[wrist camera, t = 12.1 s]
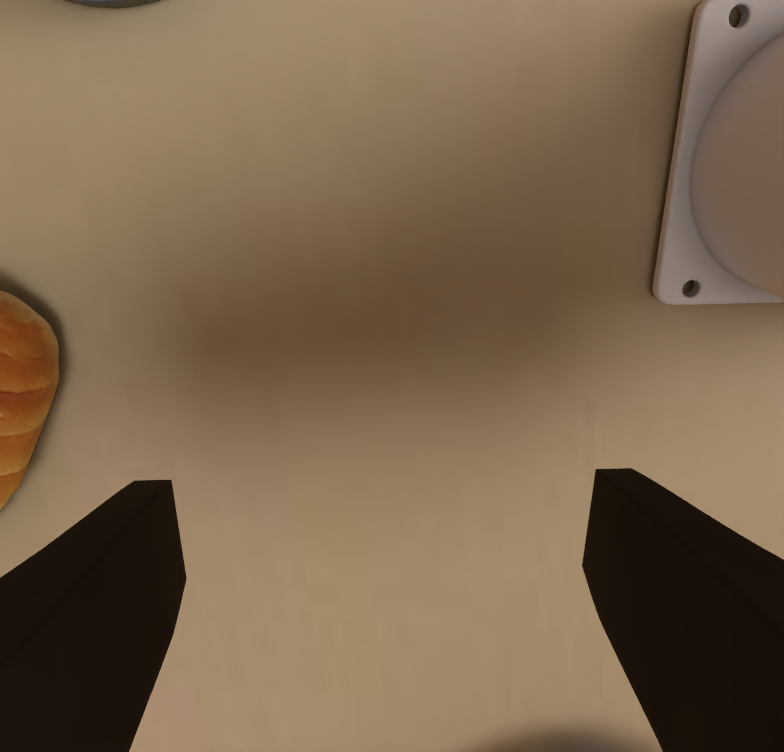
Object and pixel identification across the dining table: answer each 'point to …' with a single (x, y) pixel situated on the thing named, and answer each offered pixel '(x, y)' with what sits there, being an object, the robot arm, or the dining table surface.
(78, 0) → the ring stand
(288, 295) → the dining table surface
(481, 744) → the dining table surface
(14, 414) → the pastry
